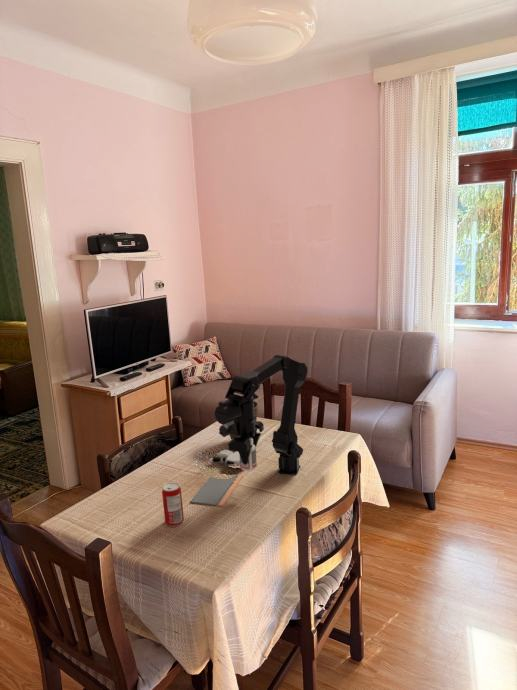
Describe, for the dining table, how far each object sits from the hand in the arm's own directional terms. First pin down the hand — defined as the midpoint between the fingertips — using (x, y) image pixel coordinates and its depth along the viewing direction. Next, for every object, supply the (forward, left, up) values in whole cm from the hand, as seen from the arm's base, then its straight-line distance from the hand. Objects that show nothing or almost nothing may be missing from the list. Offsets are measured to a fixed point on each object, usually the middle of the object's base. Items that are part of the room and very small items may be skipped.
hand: (248, 460), depth 158 cm
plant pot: (+16, -38, -12) cm, 43 cm away
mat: (+12, 0, -12) cm, 17 cm away
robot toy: (+13, -19, -12) cm, 26 cm away
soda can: (+17, +21, -12) cm, 29 cm away
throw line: (+6, 0, -12) cm, 13 cm away
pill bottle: (0, 0, -3) cm, 3 cm away
